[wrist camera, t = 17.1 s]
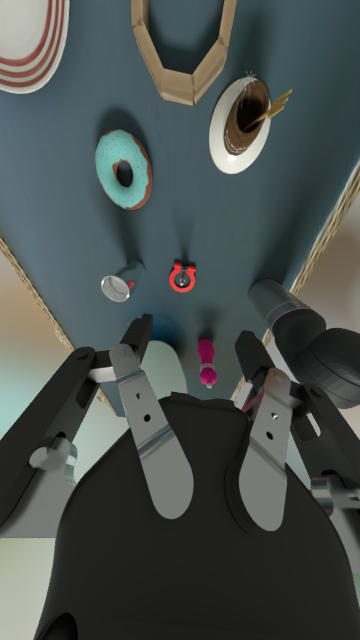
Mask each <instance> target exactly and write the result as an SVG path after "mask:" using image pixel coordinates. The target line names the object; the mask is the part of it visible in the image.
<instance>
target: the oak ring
mask: <svg viewBox="0 0 360 640" xmlns="http://www.w3.org/2000/svg"><path fill="white" fill-rule="evenodd" d="M236 2H237V0H225V1H224V7H223V14H222V20H221V26H220V33H219V38H218V40H217V41H216V42H215V44H214V45H213V47H212V48H211V49H210V51H209V52H208V54H207V55H206V56H205V58H204V59H203V61H202V62H201V63H200V65H199V66H198V68H197V69H196V70H195V72H194V73H193V74H192V75H190V74H186V73H181V72H177V71H172V70H168V69H164V68H163V66H162V64H161V61H160V59H159V57H158V54H157V52H156V50H155V47H154V45H153V43H152V40H151V38H150V36H149V33H148V9H149V0H131V15H132V26H133V31H134V34H135V38H136V41H137V44H138V47H139V50H140V52H141V55H142V57H143V59H144V61H145V63H146V65H147V68H148V70H149V72H150V74H151V76H152V78H153V80H154V83H155V85H156V87H157V89H158V91H159V93H160V96H161V97H162V95H163V99H164V100H169V101H173V102H178V103H183V104H187V105H192V106H193V100H194V103H195V104H196V103H197V101H198V100H199V99H200V98H201V96H202V95H203V94H204V93H205V91H206V90H207V89H208V87H209V86H210V85H211V84H212V82H213V81H214V80H215V79H216V77H217V76H218V75H219V73H220V72H221V71H222V70H223V65H225V60H226V56H227V51H228V46H229V40H230V35H231V29H232V24H233V19H234V13H235V8H236Z"/></svg>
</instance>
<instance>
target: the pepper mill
mask: <svg viewBox="0 0 360 640" xmlns="http://www.w3.org/2000/svg"><path fill="white" fill-rule="evenodd" d="M197 352H198V356H199V358H200V359H201V362H202V366H201V373H200V379H201V381H202V382H203V383H204V384H206V385H207V387H208V388H211V387H212V384H214V383H215V382H216V380H217V374H216V372H215V369H214V366H213V364H212V361H213V357H214V354H215V350H214V348H213V345H212V342H211V341H210V340H208V339H203V340H201V341H199V343H198V350H197Z"/></svg>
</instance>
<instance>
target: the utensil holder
mask: <svg viewBox="0 0 360 640" xmlns="http://www.w3.org/2000/svg"><path fill="white" fill-rule="evenodd" d="M252 70H253V69H252ZM252 70H251V71H252ZM246 72H247V71H246ZM246 72H245V73H246ZM252 73H253V71H252ZM247 74H248V72H247ZM250 74H251V73H250ZM252 76H254V75H252ZM252 76H251V77H250V75H249V77H250V78H252ZM249 77H248V78H246V79H247V80H248V81H249V80H250V79H249ZM256 77H257V75H256ZM242 79H245V77H244V78H242ZM242 79H241V80H242ZM241 80H240V81H241ZM247 80H246V81H247ZM246 81H245V82H246ZM248 81H247V82H248ZM239 83H240V82H239ZM242 86H243V90H242V91H241V92H240V94H239V95H238V97H237V98H236V100H235V101H234V103H233V105H232V107H231V110H230V112H229V115H228V118H227V120H226V124H225V128H224V134H223V141H224V146H225V149H226V151H227V152H228V153H229V154H230V155H233V156H238V155H240V154H242V153H244V152H245V151H246V150H247V149H248V148H249V147H250V145H251V144H252V143H253V142H254V140H255V139H256V137H257V136H258V134H259V132H260V130H261V128H262V125H263V123H264V121H265V118H266V116H267V115H268V117H267V118H268V119H270V118H271V117H273V116H274V115H275V114H277V113H278V112H280V111H281V110H282V109H283V108H284V105H283V106H281V105H282V104H283V103H285V102H286V101H287V100H288V97H287V98H285V97H286V96H287V95H288V94H289V93H291V91H292V88H291V89H290V90H288V91H287V92H286V93H284V94H283V95H282V96H280V97H279V98H277V99H276V100H275V101H274V103H273V105H272V106H271V108H270V109H269V110H268V108H269V92H268V89H267V86H266V85H265V83H264V82H262V81H260V80H257V78H256V80H254V81H252V80H251V81H250V83H248V84H246V86H245V87H244V84H243V85H242ZM238 89H239V86H238ZM240 89H241V88H240ZM239 91H240V90H239ZM238 93H239V92H238ZM283 98H285V99H284V100H282V99H283ZM281 100H282V101H281ZM280 101H281V102H280ZM280 106H281V107H280ZM278 107H280V108H278ZM277 108H278V109H277ZM276 109H277V110H276Z"/></svg>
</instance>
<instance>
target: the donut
mask: <svg viewBox="0 0 360 640" xmlns="http://www.w3.org/2000/svg"><path fill="white" fill-rule="evenodd" d="M122 161H125V162H127V163H128V164H129V165H130V166H131V168H132V170H133V182H132V184H131V185H130V187H124V186H122V185H121V184H120V182H119V180H118V177H117V167H118V165H119V163H121V162H122ZM95 162H96V169H97V174H98V178H99V181H100V183H101V186H102V188H103V189H104V191H105V193H106V194H107V196H108V197H109V198H110V199H111V200H112V201H113V202H114V203H115V204H117V205H118V206H119V207H121V208H124V209H127V210H135V209H138V208H140V207H141V206H143V205H144V204H145V203H146V201H147V200H148V198H149V195H150V193H151V188H152V169H151V165H150V161H149V158H148V156H147V153H146V151H145V150H144V148H143V146H142V145H141V143H140V142H139V141H138V140H137V139H136V138H135V137H134V136H133V135H132V134H130V133H128V132H126V131H124V130H120V129H113V130H110V131H108V132H106V133H105V134H104V135H103V136H102V137H101V139H100V141H99V144H98V146H97V150H96V152H95Z"/></svg>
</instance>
